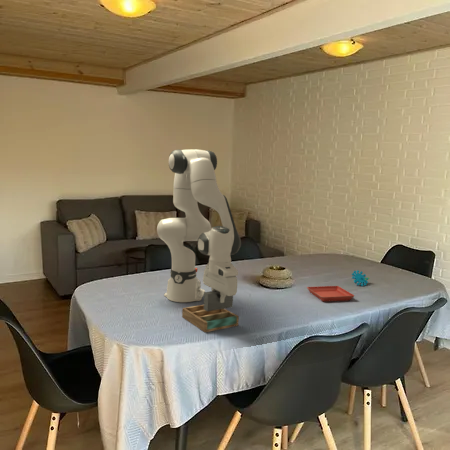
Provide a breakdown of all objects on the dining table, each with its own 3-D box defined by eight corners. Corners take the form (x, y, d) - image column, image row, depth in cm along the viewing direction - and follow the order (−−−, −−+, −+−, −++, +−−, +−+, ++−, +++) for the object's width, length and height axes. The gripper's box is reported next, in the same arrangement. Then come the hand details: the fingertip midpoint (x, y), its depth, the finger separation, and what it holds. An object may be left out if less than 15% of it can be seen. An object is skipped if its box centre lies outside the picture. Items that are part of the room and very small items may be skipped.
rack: (204, 332, 182) (205, 322, 182) (182, 317, 198) (182, 308, 197) (238, 325, 191) (238, 316, 190) (214, 311, 207) (214, 302, 206)
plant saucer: (305, 292, 242) (306, 286, 242) (337, 291, 247) (337, 285, 246) (321, 303, 225) (321, 297, 224) (354, 302, 229) (355, 295, 229)
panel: (207, 311, 183) (208, 294, 182) (203, 309, 186) (204, 292, 185) (232, 307, 190) (233, 290, 189) (228, 305, 192) (229, 288, 191)
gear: (355, 284, 254) (351, 268, 260) (349, 289, 258) (345, 273, 264) (372, 286, 257) (367, 270, 263) (366, 291, 262) (362, 275, 268)
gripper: (199, 262, 192) (198, 294, 194) (227, 273, 175) (225, 309, 177) (212, 261, 196) (211, 292, 198) (240, 272, 179) (239, 306, 181)
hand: (218, 300), depth 187 cm, fingers closed on panel, 3 cm apart
